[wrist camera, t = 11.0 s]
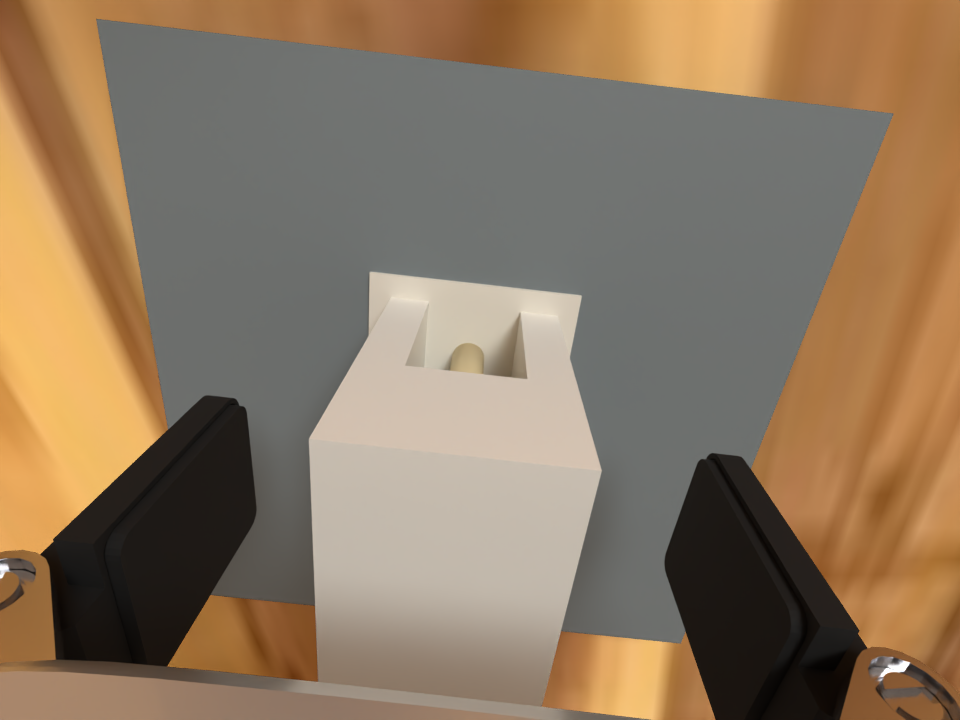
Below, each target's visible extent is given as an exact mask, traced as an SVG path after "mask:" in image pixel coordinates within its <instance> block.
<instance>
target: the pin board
mask: <svg viewBox="0 0 960 720" xmlns="http://www.w3.org/2000/svg"><path fill="white" fill-rule="evenodd" d="M96 21H97V26H98V32H99V38H100V43H101V49H102V55H103V60H104V66H105V72H106V78H107V83H108V89H109V95H110V100H111V106H112V112H113V117H114V123H115V129H116V135H117V140H118V146H119V152H120V157H121V163H122V169H123V174H124V180H125V186H126V191H127V197H128V203H129V209H130V214H131V220H132V226H133V231H134V237H135V243H136V248H137V254H138V260H139V266H140V271H141V277H142V283H143V288H144V294H145V300H146V305H147V311H148V317H149V323H150V328H151V334H152V340H153V345H154V351H155V357H156V362H157V368H158V374H159V380H160V385H161V391H162V397H163V402H164V408H165V414H166V419H167V425H168V429H169V428H170V427H171V426H173V425H174V424H175V423H176V422H177V421H178V420H179V419H180V418H181V417H182V416H183V415H184V414H185V413H186V412H187V411H188V410H189V409H190V408H191V407H192V406H193V405H195V404H196V403H197V402H198V401H199V400H200V399H201V398H202V397H204V396H205V395H211V396H220V397H229V398H235V399H236V400H237V401H238V403H239V406H244V407H245V408H246V411H247V418H248V427H249V437H250V447H251V457H252V467H253V476H254V486H255V496H256V506H257V511H256V517H255V520H254V523H253V525H252V527H251V529H250V530H249V532H248V534H247V535H246V537H245V539H244V540H243V542H242V544H241V545H240V547H239V549H238V550H237V552H236V553H235V555H234V557H233V558H232V560H231V562H230V563H229V565H228V567H227V568H226V570H225V572H224V573H223V575H222V577H221V578H220V580H219V581H218V583H217V585H216V586H215V588H214V590H213V591H212V593H211V595H216V596H226V597H235V598H245V599H255V600H264V601H274V602H284V603H294V604H303V605H313V606H315V588H314V561H313V535H312V509H311V483H310V456H309V438H310V436H311V434H312V433H313V431H314V429H315V427H316V426H317V424H318V422H319V421H320V419H321V417H322V415H323V414H324V412H325V410H326V409H327V407H328V405H329V403H330V402H331V400H332V398H333V397H334V395H335V393H336V391H337V390H338V388H339V386H340V384H341V383H342V381H343V379H344V378H345V376H346V374H347V372H348V371H349V369H350V367H351V366H352V364H353V362H354V360H355V359H356V357H357V355H358V354H359V352H360V350H361V348H362V347H363V345H364V343H365V342H366V340H367V338H368V336H369V335H370V333H371V331H372V329H373V328H374V326H375V324H376V323H377V321H378V319H379V317H380V316H381V314H382V312H383V311H384V309H385V307H386V305H387V304H388V302H389V300H390V299H391V297H394V298H403V299H412V300H420V301H429V308H428V322H427V336H426V351H425V365H424V368H431V369H440V370H449V371H458V372H467V373H476V374H485V375H494V376H503V377H511V372H512V366H513V359H514V352H515V346H516V339H517V332H518V326H519V319H520V312H526V313H535V314H544V315H552V316H558V318H559V322H560V325H561V329H562V332H563V336H564V339H565V343H566V346H567V350H568V354H569V357H570V361H571V364H572V368H573V371H574V375H575V378H576V382H577V385H578V389H579V392H580V396H581V399H582V403H583V406H584V410H585V413H586V417H587V421H588V424H589V428H590V431H591V435H592V438H593V442H594V445H595V449H596V452H597V456H598V459H599V463H600V466H601V470H602V472H601V476H600V480H599V484H598V488H597V492H596V496H595V499H594V503H593V507H592V511H591V515H590V519H589V523H588V527H587V531H586V535H585V539H584V543H583V546H582V550H581V554H580V558H579V562H578V566H577V570H576V574H575V578H574V582H573V586H572V590H571V593H570V597H569V601H568V605H567V609H566V613H565V617H564V621H563V625H562V629H561V631H565V632H575V633H585V634H594V635H604V636H614V637H623V638H633V639H643V640H653V641H662V642H672V643H681V641H682V639H683V636H684V634H685V628H684V625H683V622H682V619H681V616H680V613H679V610H678V608H677V605H676V602H675V599H674V596H673V593H672V590H671V587H670V584H669V581H668V578H667V575H666V572H665V566H664V560H665V554H666V551H667V548H668V545H669V542H670V540H671V537H672V534H673V531H674V528H675V525H676V522H677V520H678V517H679V514H680V511H681V508H682V505H683V503H684V500H685V497H686V494H687V491H688V488H689V485H690V483H691V480H692V477H693V474H694V471H695V468H696V466H697V463H698V461H699V460H700V459H706V458H707V456H708V455H709V454H711V453H717V454H726V455H735V456H740V457H742V458H743V459H744V460H745V461H746V463H747V464H748V466H749V467H750V469H751V467H752V464H753V462H754V459H755V457H756V454H757V452H758V449H759V447H760V444H761V442H762V440H763V437H764V435H765V432H766V430H767V427H768V425H769V422H770V420H771V417H772V415H773V412H774V410H775V407H776V405H777V402H778V400H779V397H780V395H781V392H782V390H783V387H784V385H785V382H786V380H787V377H788V375H789V372H790V370H791V367H792V365H793V362H794V360H795V357H796V355H797V352H798V350H799V347H800V345H801V342H802V340H803V338H804V335H805V333H806V330H807V328H808V325H809V323H810V320H811V318H812V315H813V313H814V310H815V308H816V305H817V303H818V300H819V298H820V295H821V293H822V290H823V288H824V285H825V283H826V280H827V278H828V275H829V273H830V270H831V268H832V265H833V263H834V260H835V258H836V255H837V253H838V250H839V248H840V245H841V243H842V241H843V238H844V236H845V233H846V231H847V228H848V226H849V223H850V221H851V218H852V216H853V213H854V211H855V208H856V206H857V203H858V201H859V198H860V196H861V193H862V191H863V188H864V186H865V183H866V181H867V178H868V176H869V173H870V171H871V168H872V166H873V163H874V161H875V158H876V156H877V153H878V151H879V148H880V146H881V143H882V141H883V139H884V136H885V134H886V131H887V129H888V126H889V124H890V121H891V119H892V116H893V114H892V113H884V112H875V111H867V110H859V109H850V108H842V107H833V106H825V105H816V104H808V103H800V102H791V101H783V100H774V99H766V98H758V97H749V96H741V95H732V94H724V93H715V92H707V91H699V90H690V89H682V88H673V87H665V86H657V85H648V84H640V83H631V82H623V81H614V80H606V79H598V78H589V77H581V76H572V75H564V74H555V73H547V72H539V71H530V70H522V69H513V68H505V67H497V66H488V65H480V64H471V63H463V62H454V61H446V60H438V59H429V58H421V57H412V56H404V55H396V54H387V53H379V52H370V51H362V50H353V49H345V48H337V47H328V46H320V45H311V44H303V43H295V42H286V41H278V40H269V39H261V38H252V37H244V36H236V35H227V34H219V33H210V32H202V31H193V30H185V29H177V28H168V27H160V26H151V25H143V24H135V23H126V22H118V21H109V20H101V19H96Z"/></svg>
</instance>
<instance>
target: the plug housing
mask: <svg viewBox="0 0 960 720" xmlns="http://www.w3.org/2000/svg"><path fill="white" fill-rule="evenodd" d="M428 308H429V301H420V300H412V299H403V298H394V297H391V299H390V300H389V302H388V304H387V305H386V307H385V309H384V311H383V312H382V314H381V316H380V317H379V319H378V321H377V323H376V324H375V326H374V328H373V329H372V331H371V333H370V335H369V336H368V338H367V340H366V342H365V343H364V345H363V347H362V348H361V350H360V352H359V354H358V355H357V357H356V359H355V360H354V362H353V364H352V366H351V367H350V369H349V371H348V372H347V374H346V376H345V378H344V379H343V381H342V383H341V384H340V386H339V388H338V390H337V391H336V393H335V395H334V397H333V398H332V400H331V402H330V403H329V405H328V407H327V409H326V410H325V412H324V414H323V415H322V417H321V419H320V421H319V422H318V424H317V426H316V427H315V429H314V431H313V433H312V434H311V436H310V438H309V456H310V483H311V509H312V535H313V561H314V588H315V614H316V640H317V667H318V682H323V683H332V684H342V685H351V686H360V687H369V688H378V689H387V690H396V691H405V692H414V693H423V694H432V695H441V696H450V697H459V698H468V699H477V700H486V701H494V702H503V703H512V704H521V705H530V706H539V707H542V703H543V699H544V695H545V691H546V687H547V684H548V680H549V676H550V672H551V668H552V664H553V660H554V656H555V652H556V648H557V644H558V640H559V637H560V633H561V629H562V625H563V621H564V617H565V613H566V609H567V605H568V601H569V597H570V593H571V590H572V586H573V582H574V578H575V574H576V570H577V566H578V562H579V558H580V554H581V550H582V546H583V543H584V539H585V535H586V531H587V527H588V523H589V519H590V515H591V511H592V507H593V503H594V499H595V496H596V492H597V488H598V484H599V480H600V476H601V472H602V470H601V466H600V463H599V459H598V456H597V452H596V449H595V445H594V442H593V438H592V435H591V431H590V428H589V424H588V421H587V417H586V413H585V410H584V406H583V403H582V399H581V396H580V392H579V389H578V385H577V382H576V378H575V375H574V371H573V368H572V364H571V361H570V357H569V354H568V350H567V346H566V343H565V339H564V336H563V332H562V329H561V325H560V322H559V318H558V316H552V315H544V314H535V313H526V312H520V319H519V326H518V332H517V339H516V346H515V352H514V359H513V366H512V372H511V377H503V376H494V375H485V374H476V373H467V372H458V371H449V370H440V369H431V368H424V365H425V351H426V336H427V322H428Z"/></svg>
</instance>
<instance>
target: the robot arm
mask: <svg viewBox="0 0 960 720" xmlns="http://www.w3.org/2000/svg"><path fill="white" fill-rule="evenodd" d="M256 511H257V506H256V496H255V486H254V476H253V467H252V457H251V447H250V437H249V427H248V418H247V411H246V408H245V407H244V406H239V403H238V401H237V400H236V399H235V398H229V397H220V396H211V395H205V396H204V397H202V398H201V399H200V400H199V401H198V402H197V403H196V404H195V405H193V406H192V407H191V408H190V409H189V410H188V411H187V412H186V413H185V414H184V415H183V416H182V417H181V418H180V419H179V420H178V421H177V422H176V423H175V424H174V425H173V426H171V427H170V428H169V429H168V430H167V431H166V432H165V433H164V434H163V435H162V436H161V437H160V438H159V439H158V440H157V441H156V442H155V443H154V444H153V445H152V446H150V447H149V448H148V449H147V450H146V451H145V452H144V453H143V454H142V455H141V456H140V457H139V458H138V459H137V460H136V461H135V462H134V463H133V464H132V465H131V466H130V467H128V468H127V469H126V470H125V471H124V472H123V473H122V474H121V475H120V476H119V477H118V478H117V479H116V480H115V481H114V482H113V483H112V484H111V485H110V486H109V487H107V488H106V489H105V490H104V491H103V492H102V493H101V494H100V495H99V496H98V497H97V498H96V499H95V500H94V501H93V502H92V503H91V504H90V505H89V506H88V507H87V508H85V509H84V510H83V511H82V512H81V513H80V514H79V515H78V516H77V517H76V518H75V519H74V520H73V521H72V522H71V523H70V524H69V525H68V526H67V527H66V528H64V529H63V530H62V531H61V532H60V533H59V534H58V535H57V536H56V537H55V538H54V539H53V541H54V542H53V543H52V544H51V545H50V546H49V547H48V548H47V549H45V550H44V551H43V552H42V553H41V554H38V553H36V552H30V551H25V550H17V551H4V552H0V720H649V719H640V718H632V717H623V716H615V715H606V714H598V713H589V712H581V711H573V710H564V709H556V708H547V707H539V706H530V705H521V704H512V703H503V702H494V701H486V700H477V699H468V698H459V697H450V696H441V695H432V694H423V693H414V692H405V691H396V690H387V689H378V688H369V687H360V686H351V685H342V684H332V683H323V682H313V681H304V680H294V679H285V678H276V677H266V676H257V675H247V674H238V673H229V672H219V671H210V670H199V669H187V668H176V667H167V666H168V664H169V662H170V661H171V659H172V657H173V656H174V654H175V652H176V651H177V649H178V647H179V646H180V644H181V642H182V641H183V639H184V638H185V636H186V634H187V633H188V631H189V629H190V628H191V626H192V624H193V623H194V621H195V619H196V618H197V616H198V614H199V613H200V611H201V610H202V608H203V606H204V605H205V603H206V601H207V600H208V598H209V596H210V595H211V593H212V591H213V590H214V588H215V586H216V585H217V583H218V581H219V580H220V578H221V577H222V575H223V573H224V572H225V570H226V568H227V567H228V565H229V563H230V562H231V560H232V558H233V557H234V555H235V553H236V552H237V550H238V549H239V547H240V545H241V544H242V542H243V540H244V539H245V537H246V535H247V534H248V532H249V530H250V529H251V527H252V525H253V523H254V520H255V517H256ZM664 566H665V572H666V575H667V578H668V581H669V584H670V587H671V590H672V593H673V596H674V599H675V602H676V605H677V608H678V610H679V613H680V616H681V619H682V622H683V625H684V628H685V631H686V634H687V637H688V640H689V643H690V646H691V649H692V652H693V654H694V657H695V660H696V663H697V666H698V669H699V672H700V675H701V678H702V681H703V684H704V687H705V690H706V693H707V695H708V698H709V701H710V704H711V707H712V710H713V713H714V716H715V719H716V720H960V694H959V693H958V692H957V691H956V689H955V688H954V687H953V686H952V685H951V684H949V683H948V682H947V681H946V680H945V679H944V678H943V677H942V676H940V675H939V674H938V673H937V672H935V671H934V670H932V669H931V668H929V667H928V666H926V665H925V664H923V663H922V662H920V661H919V660H917V659H915V658H913V657H911V656H908V655H906V654H904V653H902V652H899V651H896V650H892V649H889V648H884V647H871V648H867V647H866V645H865V644H864V642H863V641H862V639H861V638H860V636H859V635H858V632H859V629H858V628H857V626H856V625H855V623H854V622H853V620H852V619H851V617H850V616H849V614H848V613H847V611H846V610H845V608H844V607H843V605H842V604H841V602H840V601H839V599H838V598H837V597H836V595H835V594H834V592H833V591H832V589H831V588H830V586H829V585H828V583H827V582H826V580H825V579H824V577H823V576H822V574H821V573H820V571H819V570H818V568H817V567H816V565H815V564H814V562H813V561H812V559H811V558H810V556H809V555H808V553H807V552H806V551H805V549H804V548H803V546H802V545H801V543H800V542H799V540H798V539H797V537H796V536H795V534H794V533H793V531H792V530H791V528H790V527H789V525H788V524H787V522H786V521H785V519H784V518H783V516H782V515H781V513H780V512H779V510H778V509H777V507H776V506H775V505H774V503H773V502H772V500H771V499H770V497H769V496H768V494H767V493H766V491H765V490H764V488H763V487H762V485H761V484H760V482H759V481H758V479H757V478H756V476H755V475H754V473H753V472H752V470H751V469H750V467H749V466H748V464H747V463H746V461H745V460H744V459H743V458H742V457H740V456H735V455H726V454H717V453H711V454H709V455H708V456H707V458H706V459H700V460H699V461H698V463H697V466H696V468H695V471H694V474H693V477H692V480H691V483H690V485H689V488H688V491H687V494H686V497H685V500H684V503H683V505H682V508H681V511H680V514H679V517H678V520H677V522H676V525H675V528H674V531H673V534H672V537H671V540H670V542H669V545H668V548H667V551H666V554H665V560H664Z"/></svg>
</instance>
